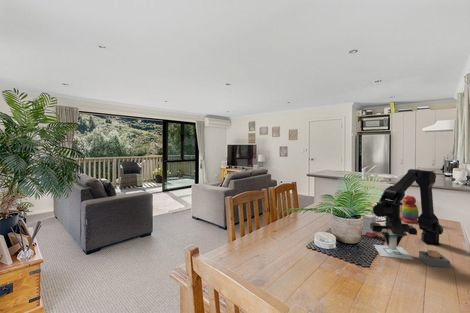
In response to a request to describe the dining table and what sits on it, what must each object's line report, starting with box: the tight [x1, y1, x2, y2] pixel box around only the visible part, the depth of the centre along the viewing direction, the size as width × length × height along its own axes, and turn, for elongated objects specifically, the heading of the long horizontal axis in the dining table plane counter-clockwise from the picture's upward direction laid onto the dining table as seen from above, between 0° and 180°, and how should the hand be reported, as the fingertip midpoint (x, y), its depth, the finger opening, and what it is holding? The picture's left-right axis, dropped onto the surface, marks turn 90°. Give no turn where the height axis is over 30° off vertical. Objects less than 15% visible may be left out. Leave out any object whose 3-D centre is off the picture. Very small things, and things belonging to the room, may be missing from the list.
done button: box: [426, 249, 441, 259], centre depth 104 cm, size 4×4×2 cm
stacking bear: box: [400, 195, 420, 224], centre depth 162 cm, size 11×10×18 cm
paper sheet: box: [373, 244, 415, 260], centre depth 115 cm, size 13×13×1 cm
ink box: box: [361, 214, 377, 238], centre depth 138 cm, size 9×5×12 cm, turn 33°
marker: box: [387, 232, 398, 250], centre depth 115 cm, size 4×4×7 cm
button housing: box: [418, 250, 451, 269], centre depth 105 cm, size 8×8×3 cm
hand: (392, 245), depth 115 cm, fingers closed on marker, 4 cm apart
